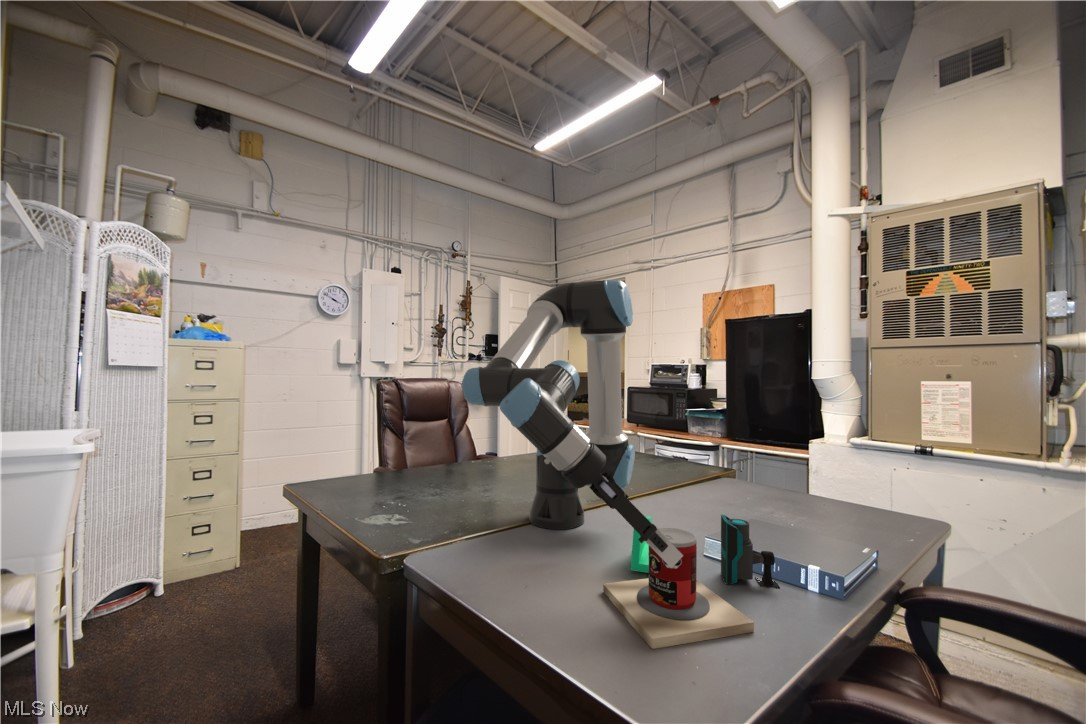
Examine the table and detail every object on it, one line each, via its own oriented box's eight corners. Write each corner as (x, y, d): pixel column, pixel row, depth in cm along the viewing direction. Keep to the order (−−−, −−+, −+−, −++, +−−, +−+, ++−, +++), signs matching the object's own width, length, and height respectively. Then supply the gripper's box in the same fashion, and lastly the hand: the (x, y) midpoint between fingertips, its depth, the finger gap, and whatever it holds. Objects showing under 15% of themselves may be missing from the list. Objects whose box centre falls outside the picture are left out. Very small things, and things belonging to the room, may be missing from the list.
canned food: (639, 593, 80) (640, 530, 80) (675, 585, 83) (676, 525, 83) (667, 615, 73) (668, 546, 73) (706, 605, 76) (706, 539, 76)
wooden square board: (603, 591, 84) (603, 582, 84) (687, 581, 89) (687, 571, 89) (652, 649, 67) (652, 636, 67) (753, 631, 72) (753, 620, 72)
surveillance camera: (781, 526, 86) (725, 522, 88) (781, 591, 86) (725, 585, 88) (772, 517, 91) (720, 513, 93) (773, 577, 91) (720, 572, 93)
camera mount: (670, 581, 89) (670, 529, 89) (630, 575, 92) (631, 524, 92) (673, 558, 100) (673, 511, 101) (638, 553, 103) (638, 508, 103)
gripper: (550, 458, 88) (623, 534, 89) (572, 492, 63) (674, 596, 65) (577, 430, 89) (650, 506, 90) (610, 454, 64) (710, 558, 65)
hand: (660, 544), depth 77 cm, fingers open, 13 cm apart
